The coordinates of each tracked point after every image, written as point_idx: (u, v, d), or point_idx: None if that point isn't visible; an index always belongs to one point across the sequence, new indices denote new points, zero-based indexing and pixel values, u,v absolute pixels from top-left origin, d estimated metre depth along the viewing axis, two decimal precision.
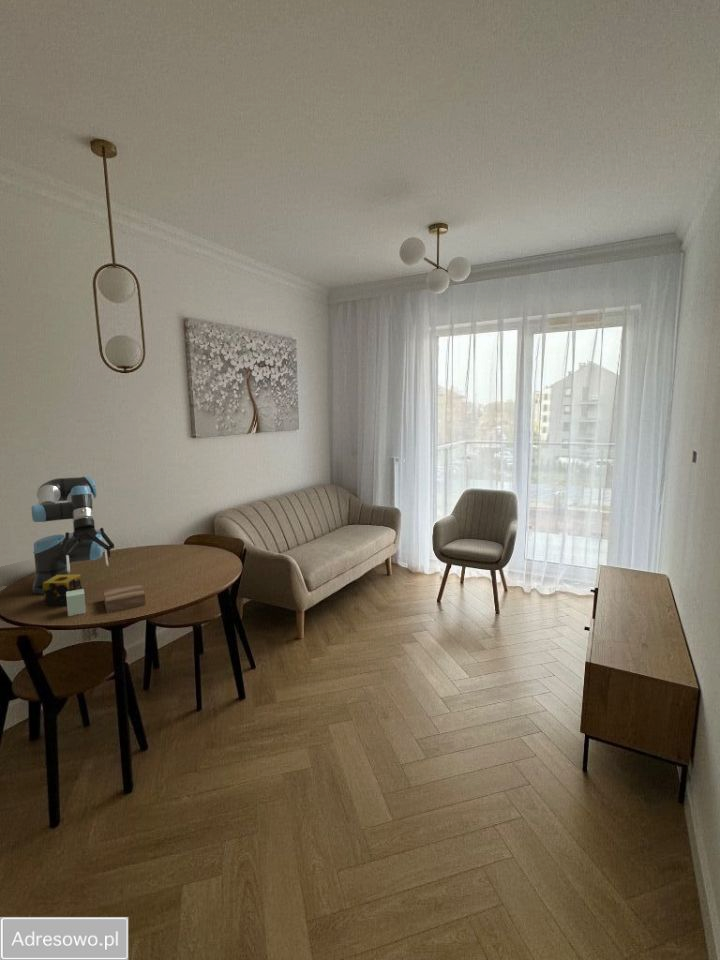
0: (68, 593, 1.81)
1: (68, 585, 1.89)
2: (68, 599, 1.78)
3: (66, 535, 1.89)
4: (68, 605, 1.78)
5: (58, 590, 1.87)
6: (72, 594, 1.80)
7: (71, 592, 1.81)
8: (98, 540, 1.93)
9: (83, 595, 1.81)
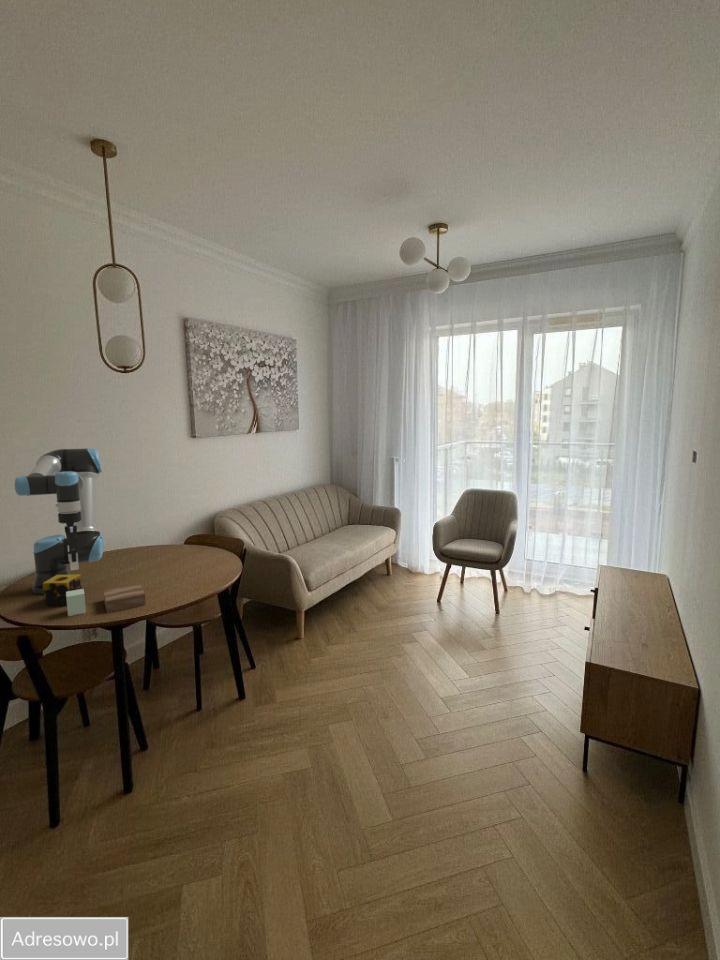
0: (68, 593, 1.81)
1: (68, 585, 1.89)
2: (68, 599, 1.78)
3: (66, 524, 1.83)
4: (68, 605, 1.78)
5: (58, 590, 1.87)
6: (72, 594, 1.80)
7: (71, 592, 1.81)
8: (68, 540, 1.75)
9: (83, 595, 1.81)
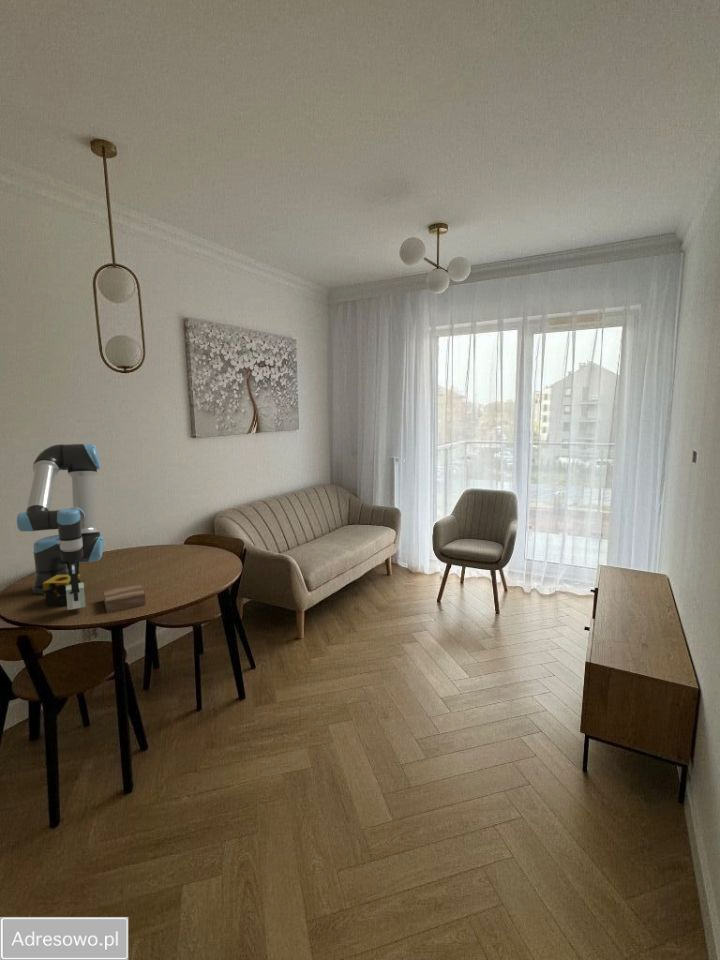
0: (68, 587, 1.81)
1: None
2: (68, 593, 1.78)
3: None
4: (68, 599, 1.78)
5: (58, 590, 1.87)
6: None
7: (70, 586, 1.81)
8: None
9: (83, 589, 1.81)
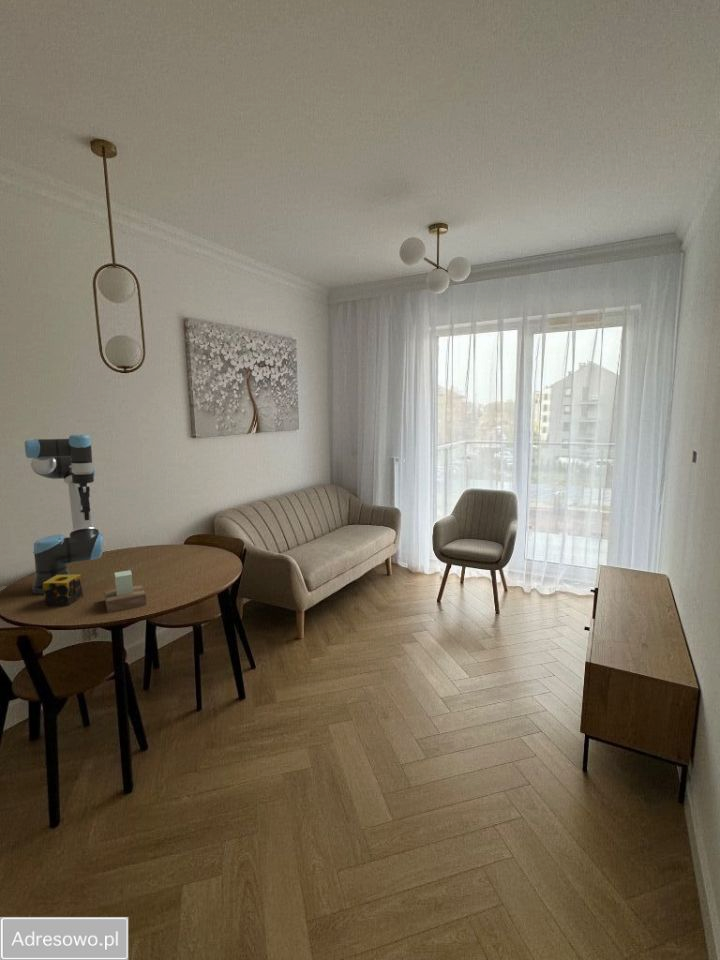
0: (116, 574, 1.89)
1: (68, 585, 1.89)
2: (117, 579, 1.87)
3: None
4: (117, 585, 1.87)
5: (58, 590, 1.87)
6: (120, 575, 1.88)
7: (119, 573, 1.90)
8: None
9: (131, 576, 1.89)
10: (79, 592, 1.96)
